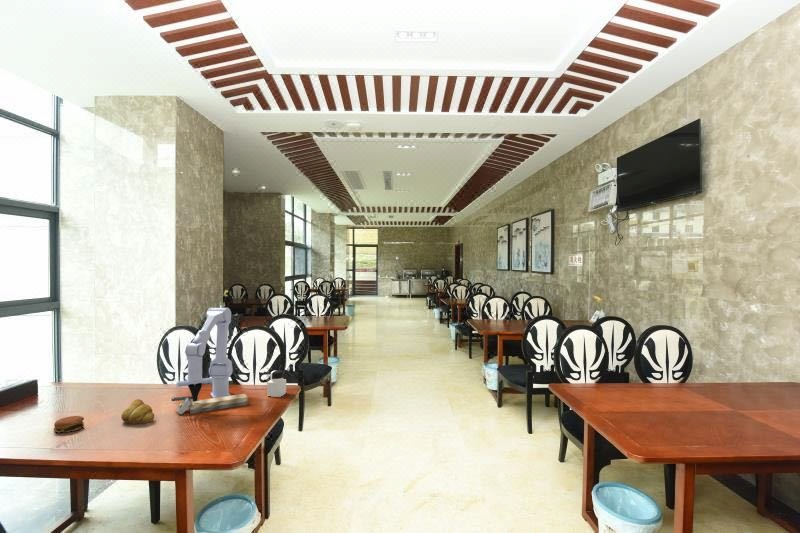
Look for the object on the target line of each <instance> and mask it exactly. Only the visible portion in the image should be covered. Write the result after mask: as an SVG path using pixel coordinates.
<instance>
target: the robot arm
mask: <svg viewBox="0 0 800 533" xmlns="http://www.w3.org/2000/svg"><path fill="white" fill-rule="evenodd" d="M231 322H232V311H231V309H230V308H229V307H208V310H207V311H206V320H205V323H204V324H203V327H202V329H201V330H200V329H199V330H198V331H197V333H196V335H194V338H193V340H191V342H190V343H188V344H187V345H186V347H185V350H184V354H185V356H186V360H187V379H186V380H180V381H176V382H175V383H176V385H175V387H176V388H180V387H188V389H189V392H190V394H191V396H192V398H193V399H192V401H193V402H196V401H197V397H198V396H199V395H200V391H201V390H202V387H203V384H212V392H210V395H211V397H212V398H218V397H225V396H231V393H230V392H229V385H230V384H229V378H230V377H231V375H233V361H232V360H231V359H229V358H228V357H227V355H228V354H227V353H228V352H227V351H228V336H229V335H228V334H229V325H230V324H231ZM215 326H216V343H215V358H213V359H212V360H211V361H210V363H209V364H210V365H209V367H208V375H209V376H210V377H205V378H204V377H203V356H204V355H205V353H206V348H207V343H208V342H209V339H210V338H211V334H210V333H211V331H212V329H213V328H215Z"/></svg>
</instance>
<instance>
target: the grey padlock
mask: <svg viewBox="0 0 800 533" xmlns="http://www.w3.org/2000/svg"><path fill="white" fill-rule="evenodd" d="M266 386H267V387H266V389H267V390H266V391H267V392H266V396H267V397H268V396H271V397H270V398H282V397H283V396H284V395H285V394H286V393H287V379H286V378H285V379H284V371H283V370H280V369H278V370H272V371H271V372H270V380H269V381H268V382H267V385H266ZM281 396H282V397H281Z"/></svg>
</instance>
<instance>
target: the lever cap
mask: <svg viewBox="0 0 800 533" xmlns="http://www.w3.org/2000/svg"><path fill="white" fill-rule="evenodd" d="M192 401H193V400H192V399H189V398H186V399H185V400H182V402H180V403H179V404H178V405H177V407H176V411H177V413H178V414H180V415H183V414H184V413H185V411H187V409H189V406H190V405H191V404H192Z"/></svg>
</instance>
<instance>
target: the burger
mask: <svg viewBox="0 0 800 533" xmlns="http://www.w3.org/2000/svg"><path fill="white" fill-rule="evenodd" d="M84 419H85V417H84V416H81V415H72V416H70V415H69V416H67V417H66V416H65V417H63V418H60V419H57V420H56V421H55V422H54V428H53V432H54V433H55V432H58V433H57V434H60V432H64V433H66V432H67V433H71V432H70V431H72V432H75V431H79V430H81V429H82V427H83V428H84V427H85V423H84V421H85V420H84Z"/></svg>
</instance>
